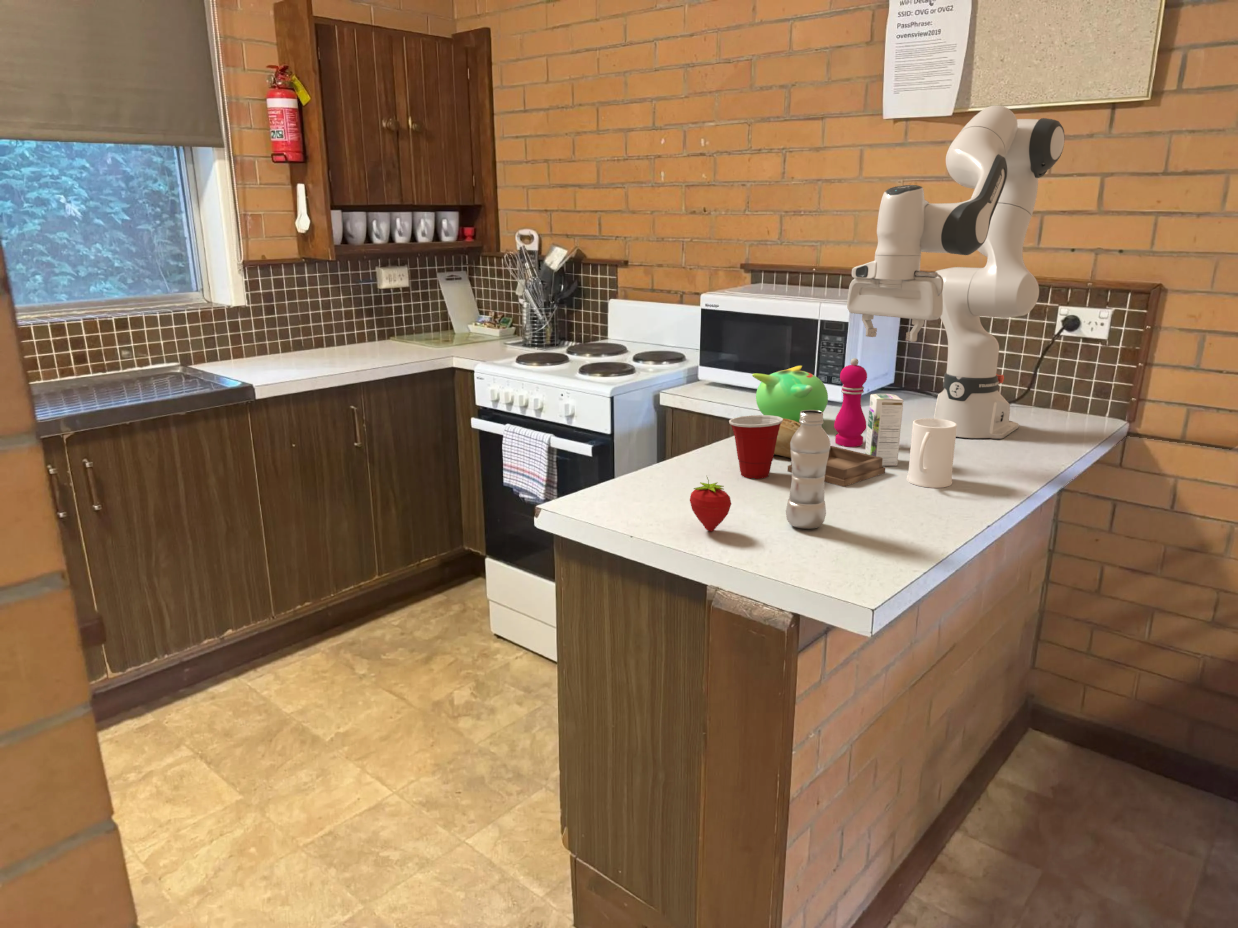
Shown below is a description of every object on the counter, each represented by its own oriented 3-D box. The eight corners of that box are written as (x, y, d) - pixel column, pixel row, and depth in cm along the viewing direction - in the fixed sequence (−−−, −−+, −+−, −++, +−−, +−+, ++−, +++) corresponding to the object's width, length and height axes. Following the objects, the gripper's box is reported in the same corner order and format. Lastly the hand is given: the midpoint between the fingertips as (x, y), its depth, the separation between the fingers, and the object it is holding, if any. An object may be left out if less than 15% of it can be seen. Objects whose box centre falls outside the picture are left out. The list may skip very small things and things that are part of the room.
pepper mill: (866, 448, 190) (872, 361, 184) (833, 446, 191) (839, 360, 185) (863, 440, 196) (869, 356, 191) (832, 439, 198) (837, 355, 192)
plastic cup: (748, 464, 179) (750, 409, 175) (791, 474, 171) (793, 417, 168) (716, 475, 171) (717, 418, 168) (759, 486, 164) (761, 427, 160)
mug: (936, 495, 157) (942, 433, 154) (892, 486, 163) (897, 426, 159) (958, 480, 166) (964, 422, 162) (916, 472, 171) (921, 415, 168)
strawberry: (715, 541, 136) (717, 483, 133) (681, 530, 141) (681, 474, 138) (738, 532, 140) (740, 475, 137) (703, 521, 145) (704, 466, 142)
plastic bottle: (780, 520, 145) (785, 408, 139) (818, 519, 145) (825, 407, 140) (791, 534, 139) (796, 417, 133) (830, 532, 139) (838, 416, 134)
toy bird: (834, 421, 215) (838, 365, 210) (811, 435, 201) (815, 375, 197) (769, 414, 224) (771, 359, 220) (743, 427, 210) (745, 369, 206)
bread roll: (756, 445, 194) (758, 411, 192) (818, 454, 186) (820, 419, 184) (738, 454, 186) (739, 420, 184) (802, 464, 178) (803, 428, 176)
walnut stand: (829, 458, 182) (830, 444, 181) (884, 472, 171) (886, 458, 170) (787, 471, 173) (788, 456, 172) (843, 486, 163) (844, 471, 162)
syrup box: (863, 458, 181) (868, 393, 177) (891, 458, 181) (896, 393, 177) (870, 466, 176) (875, 399, 172) (898, 466, 176) (904, 399, 172)
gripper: (953, 271, 161) (945, 342, 165) (863, 267, 177) (858, 333, 180) (935, 272, 158) (928, 345, 161) (845, 268, 173) (840, 335, 177)
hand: (890, 339), depth 171 cm, fingers open, 8 cm apart
